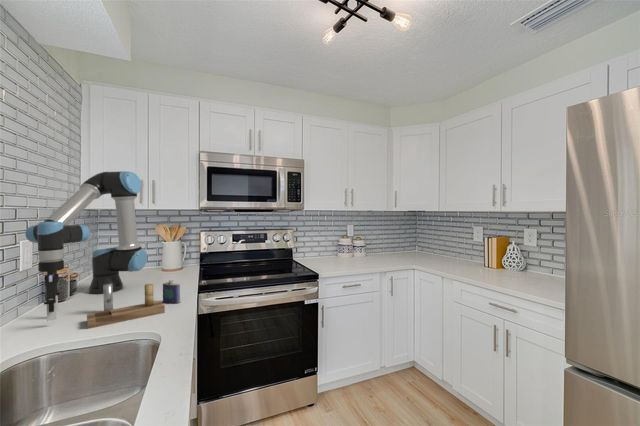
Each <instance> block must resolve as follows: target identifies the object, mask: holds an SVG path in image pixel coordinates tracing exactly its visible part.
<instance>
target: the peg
mask: <svg viewBox="0 0 640 426" xmlns="http://www.w3.org/2000/svg"><path fill="white" fill-rule="evenodd" d="M103 290H104V293H103V311H107V310H112V309H114V300H113V299H114V296H113V286H112V284H104V285H103Z"/></svg>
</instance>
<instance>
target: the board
mask: <svg viewBox="0 0 640 426" xmlns="http://www.w3.org/2000/svg"><path fill="white" fill-rule="evenodd" d="M165 308H166V307H165V303H163V301H161V300H156V301H155V300H154V284H153V283H145V284H144V303H139V304H135V305H130V306H129V305H128V306H124V307H118V308H113V309H112V310H107V311H104V310H102V311H97V312H93V313H87V314H86V324H87V329H93V328H98V327H103V326H107V325H111V324H112V325H113V324H116V323H122V322H126V321H131V320H136V319H141V318H144V317H150V316H155V315H160V314H164V313H165Z"/></svg>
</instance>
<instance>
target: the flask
mask: <svg viewBox="0 0 640 426" xmlns="http://www.w3.org/2000/svg"><path fill="white" fill-rule="evenodd" d="M173 282H174V280H173V279H172V280H168V281H167V282H164V283H162V303H163V304H174V305H175V304H178V305H179V304H180V303H181V291H180V290H181V284H180V283H173Z"/></svg>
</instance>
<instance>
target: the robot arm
mask: <svg viewBox="0 0 640 426" xmlns="http://www.w3.org/2000/svg"><path fill="white" fill-rule="evenodd" d="M141 190H142V181H141V179H140V177H139V176H138V175H137V173H135V172H134V171H124V170H123V171H122V170H121V171H103V172H100V173H99V172H98V173H96V174H94V175H92V176H91V177H89V178H88V179H87V180H85V181H84V182H83V183H82V184H80V186H79V189H78V190H77V191H76V192H75V193H74V194H73V195H71V196H70V197H69V198H68V199H67V200H66V201H65V202H64V203H62V204H61V206H59V207H58V208H57V209H55V211H53V212H52V213H51V214H50V215H49V216H48V217H47V218H46V219H45V220H44V221H41V222H38V224H36V225H31V226H29V227H28V228H27V229H26V230H25V235H24V236H25V238H26V239H27V241H29V242H31V243H37V253H35V256H37V257H38V261H39V262H38V268H37V269H38V272H40V273H47V274H45V275H44V281H45V282H44V283H45V284H44V285H45V288H46V295H45V296H46V300H45V302H43V305H46V321H47V322H49V321H54V320H57V312H58V311H59V300H58V299H59V298H58V297H59V295H60V294H61V293H60V291H58V283H59V275H60V274H59V273H58V272H59V271H62V270H64V268H65V261H64V258H65V252H64V251H65V249H64V245H66V244H71V243H80V242H85V241H87V240H88V239H89V238H90V235H91V233H90V228H89V227H88V226H86V225H85V224H70V223H72V222H73V221H74V220H75V219H76V218H77V217H78V216H79V215H80V214H81V213H82V212H83V211H84V210H85V209H86V208H87V207H88V206H89V205H90V204H91V203H92V202H94V200H98V199H100V197H102V196H104V195H107V194H108V195H109V194H110V198H111V199H113V200H114V204H115V214H116V226H117V235H118V245H117V246H114V247H107V248H100V249H95V250H94V251H93V252H92V257H91V259H92V261H91V262H92V265H91V266H92V279H91V282H90V285H89V288H88V293H89V294H92V295H100V294H101V295H102V294H103V295H104V290H103V285H104V284H112V286H113V292H117V291H120V290H122V289H124V283H123V281H122V279H121V277H120V276H121V275H120V272H130V273H132V272H139V271H141V270H142V269H143V268H144V267H145V266H146V263H147V261H148V253H147V251H146V250H145V249H142V245H141V243H139V240H138V229H137V219H136V217H137V216H136V207H135V200H136V198H137V197H138V194H139V193H140V192H141Z"/></svg>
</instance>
